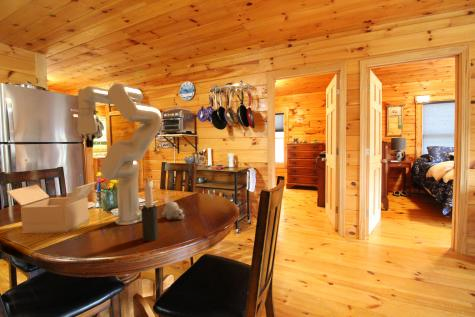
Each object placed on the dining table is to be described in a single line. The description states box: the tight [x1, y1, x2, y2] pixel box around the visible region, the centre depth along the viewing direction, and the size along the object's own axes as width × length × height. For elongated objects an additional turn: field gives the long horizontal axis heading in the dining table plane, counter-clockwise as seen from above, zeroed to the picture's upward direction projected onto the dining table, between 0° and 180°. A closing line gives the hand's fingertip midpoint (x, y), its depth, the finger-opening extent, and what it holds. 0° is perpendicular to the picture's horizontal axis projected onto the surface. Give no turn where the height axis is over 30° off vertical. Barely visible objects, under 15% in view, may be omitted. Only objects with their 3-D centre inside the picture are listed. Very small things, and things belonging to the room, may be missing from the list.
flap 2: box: [65, 181, 97, 204], centre depth 109 cm, size 8×16×1 cm
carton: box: [20, 196, 90, 234], centre depth 109 cm, size 19×17×12 cm
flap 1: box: [6, 184, 50, 207], centre depth 108 cm, size 8×16×1 cm
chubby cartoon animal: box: [161, 200, 185, 220], centre depth 118 cm, size 7×12×8 cm, turn 65°
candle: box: [140, 177, 159, 242], centre depth 93 cm, size 5×5×25 cm
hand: (89, 147), depth 124 cm, fingers closed
